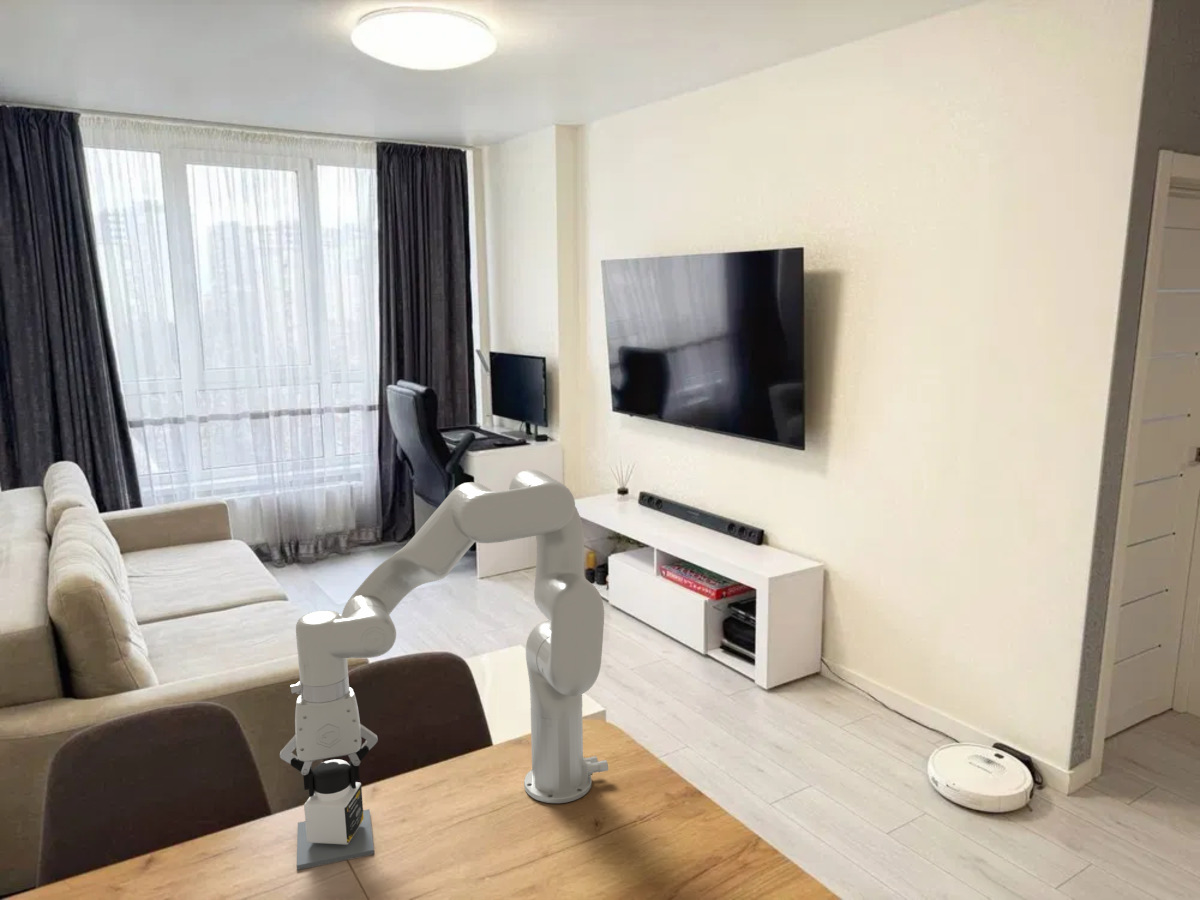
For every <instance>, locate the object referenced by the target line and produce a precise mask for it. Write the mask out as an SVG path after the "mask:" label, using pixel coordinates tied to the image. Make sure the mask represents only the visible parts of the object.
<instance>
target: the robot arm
mask: <svg viewBox="0 0 1200 900" xmlns="http://www.w3.org/2000/svg"><path fill="white" fill-rule="evenodd" d="M575 501H576V500H575V497H574V495H573V493H572V491H571V490H570V489H569V488H568V487H567V486H566V485H565V484H564V483H562V482H560V481H558V480H557V479H554V478H553V477H551V476H550V475H548V474H546V473H544V472H542V471H541V470H535V469H526V470H522V471H519V472H517V473H516V474H515V475H514V476H513V477H512V479H511V481H510V484H509V487H508V489H505V490H491V488H489V487H487V486H485V485H483V484H482V483H477V482H473V481H470V482H463V483H461V484H459V485H457V486H456V487H455V488H454V489H453V490H452V491H450V493H449V494H448V495H447V497H446V498H445V499H444V500H443V501H442V502H441V504H440V505H439V506H438V507H437V508H436V510H434V512H433V513H432V514H431V516H429V518H428V519H427V520H426V521H425V523H424V524H423V525H422V526H421V527H420V528H419V530H418V531H417V532H416V533H415V534H414V535H413V537H412V538H411V539H409V541H408V542H407V543H406V545H404V546H403V547H402V548H400V549H399V550H397V551H396V552H395V553H393V554H392V555H391V556H390V557H388V558H387V559H385V560H384V561H383V562H382V563H380V564H379V565H378V566H377V567H375V569H373V571H372V572H371V573H370V574H369V575H368V576H367V577H366V578H365V579H364V581H363V582H362V583H361V584H360V585H359V587H357V589H356V590H355V591H354V592H353V594H352V595H351V597H349V598H348V600H347V602H346V603H345V605H344V608H343V610H342V613H339V612H337V611H334V610H316V611H313V612H308V613H307V614H304V615H302V616H301V617H300V618H299V619H298V620H297V622H296V624H295V637H296V648H297V658H298V671H299V672H298V674H299V681H298V682H297V683H295V684H291V685H290V691H291V692H290V693H291V695H292V694H297V695H298V697H297V699H296V703H295V705H296V706H295V715H294V716H295V717H294V725H295V726H294V728H295V730H294V732H295V734H294V735H293V736H292V738H291V739H290V740H289V741H288V742H287V743H286V744H285V745H284V747H283V748H282V749H281V750H280V751H279V752H280V753H279V758H280V759H281V760H283V761H284V762H286V763H288V764H289V765H290V766H291V767H293V768H294V769H295V770H297V771H298V772H300V773H301V775H302V776H303V787H304V788H303V789H304V791H308V794H309V795H308V798H309V797H312V796H313V795H314V787H313V770H314V769H313V766H312V764H313V762H315V761H322V760H327V759H333V758H338V757H343V756H345V757H346V756H348V758H349V760H348V761H349V765H350V774H351V788H353V789H355V788H356V782H358V781H360V764H361V762H362V761H363V759H364V758H365V757H366V755H368V753H369V751H370V750H371V749H372V748H373V747H375V746H376V744H377V743H378V741H379V739H378V735H377V734H376V733H374V732H373V731H372V730H370V729H369V728H367V727H366V726H365V725H363V724H362V723H361V721H360V713H359V712H360V711H359V707H358V701H357V697H356V694H355V692H354V689H353V688H352V687H350V683H349V666H348V659H372V658H373V659H374V658H377V657H381V656H383V655H385V654H386V653H388V652H389V651H390V650H391V649H392V648H393V646H394V645H395V643H396V639H397V629H396V627H395V623H394V622H393V620H392V618H391V616H390V614H391V613H392V612H393V610H394V609H395V608H396V607H397V606H398V605H399V604H400V603H401V601H402V600H403V599H404V598H405V597H406V596H407V595H408V594H410V592H412V591H413V590H415V589H416V588H417V587H419V586H421V585H424V584H428V583H433V582H437V581H440V580H442V579H444V578H446V577H447V576H448V575H449V574H450V573H451V571H452V570H453V569H454V567H455V566H456V565H457V564H458V563H459V561H460V560H461V559H462V558H463V557H464V555H466V553H467V552H468V551H469V549H470V548H471V547H472V546H473V545H474V544H475V543H477V544H494V543H495V544H496V543H497V544H498V543H504V542H507V541H508V542H510V541H514V540H520V539H525V538H531V537H535V539H536V540H535V541H536V542H535V543H536V563H535V579H534V591H533V596H534V597H533V599H534V602H535V605H536V607H537V608H538V609H539V611H540V613H542V614H543V616H545V618H547V620H544V621H542V622H540V623H538V624H536V626H534V627H533V628H532V630H531V631H530V632H529V634H528V637H527V639H526V644H525V660H526V667H527V673H528V674H527V675H528V682H529V693H530V699H529V700H530V736H531V738H530V739H531V745H530V746H531V770H529V771H528V772H527V774H526V775H525V777H524V781H523V782H524V783H523V786H524V790H525V792H526V794H528V795H529V796H530V797H531V798H533V799H534V800H536V801H539V802H542V803H548V804H564V803H569V802H574V801H576V800H578V799H581V798H582V797H584V796H586V795H587V793H589V791H590V790H591V789H592V776H593V774H595V773H602V772H607V771H609V764H608V763H609V762H608V761H607V760H606V759H605V760H599V761H598V757H597V756H596V755H594V756H589V757H584V751H583V750H584V745H583V744H584V741H583V740H584V739H583V737H584V735H583V733H584V732H583V694H585V693H586V692H588V691H589V690H591V688H592V687H593V686H594V684H595V683H596V682H597V679H598V677H599V674H600V670H601V665H602V654H603V642H604V641H603V640H604V630H605V629H604V624H605V607H604V606H605V605H604V602H603V598H602V596H601V594H600V592H599V590H598V589H597V588H596V586H595V585H594V584H593V583H591V582H590V581H589V580H588V579H587V578H586V577H585V571H584V569H585V568H584V567H585V565H584V564H585V535H584V534H585V533H584V526H583V522H582V519H581V516H580V513H579V511H578V509H577V507H576V502H575ZM362 738H363V739H365V741H364V742H363V743H362ZM295 749H296V754H294V753H293V751H295Z"/></svg>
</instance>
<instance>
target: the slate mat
mask: <svg viewBox="0 0 1200 900" xmlns="http://www.w3.org/2000/svg"><path fill="white" fill-rule="evenodd" d="M363 817H364V819H363V821H362V823H361V824H360V826H359V828H358V829H357V831H356V832H355V834H354V836H353V837H352V839H351V840H350V842H349V843H348V844H347V845H345V844H325V843H308V842H307V834H306V822H305V820H304V821H300V822H297V835H296V836H297V838H296V843H297V844H296V871H298V870H299V871H300V870H304V869H309V868H314V867H320V866H323V865H324V866H325V865H329V864H333V863H337V862H343V861H347V860H348V861H349V860H352V859H358V858H362V857H367V856H372V855H375V847H374V839H373V837H374V836H373V831H372V829H373V828H372V821H371V820H372V819H371V812H370V808H368V809H363Z"/></svg>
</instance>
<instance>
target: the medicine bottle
mask: <svg viewBox="0 0 1200 900" xmlns="http://www.w3.org/2000/svg"><path fill="white" fill-rule="evenodd" d="M355 782H356V788H355V789H353V788H351V774H350V762H348V761H346V760H343V759H335V758H334V759H330V760H325V761H323V762H320V763H319V764H317V765H316V766H315V767H314V769H313V787H314V795H313V796H312V797H309V796H308V799H307V800H306V801H305V803H304V805H303V807H304V819H305V820H304V821H305V822H306V834H307V842H308V843H325V844H345V845H347V844H348V843H349V842H350V840H351V839H352V837H353V836H354V834H355V832H356V831H357V829H358V828H359V826H360V824H361V823H362V821H363V819H364V817H363V810H364V806H363V805H364V804H363V792H362V791H363V789H362V783H361V782H358V781H355Z"/></svg>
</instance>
